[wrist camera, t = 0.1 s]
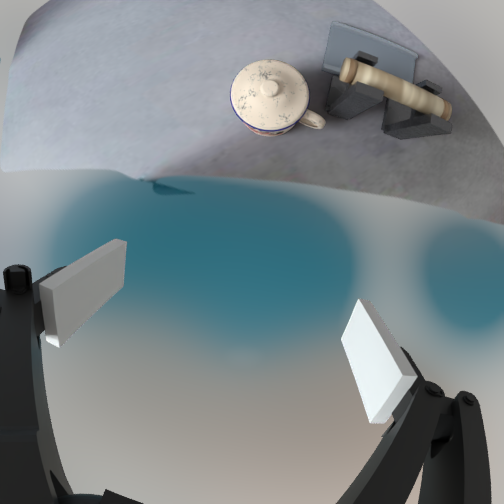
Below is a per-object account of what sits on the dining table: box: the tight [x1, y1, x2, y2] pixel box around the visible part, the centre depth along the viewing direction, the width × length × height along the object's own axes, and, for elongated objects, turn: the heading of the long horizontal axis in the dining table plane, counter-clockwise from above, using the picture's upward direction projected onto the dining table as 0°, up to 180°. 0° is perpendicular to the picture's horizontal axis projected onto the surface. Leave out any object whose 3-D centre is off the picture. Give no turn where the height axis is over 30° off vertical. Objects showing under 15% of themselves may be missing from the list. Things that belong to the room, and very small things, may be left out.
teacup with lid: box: [230, 60, 325, 136], centre depth 32 cm, size 12×9×12 cm
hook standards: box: [325, 51, 452, 140], centre depth 29 cm, size 6×13×14 cm, turn 77°
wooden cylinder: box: [339, 57, 452, 121], centre depth 26 cm, size 14×3×3 cm, turn 77°
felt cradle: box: [322, 21, 418, 84], centre depth 33 cm, size 9×14×2 cm, turn 77°
